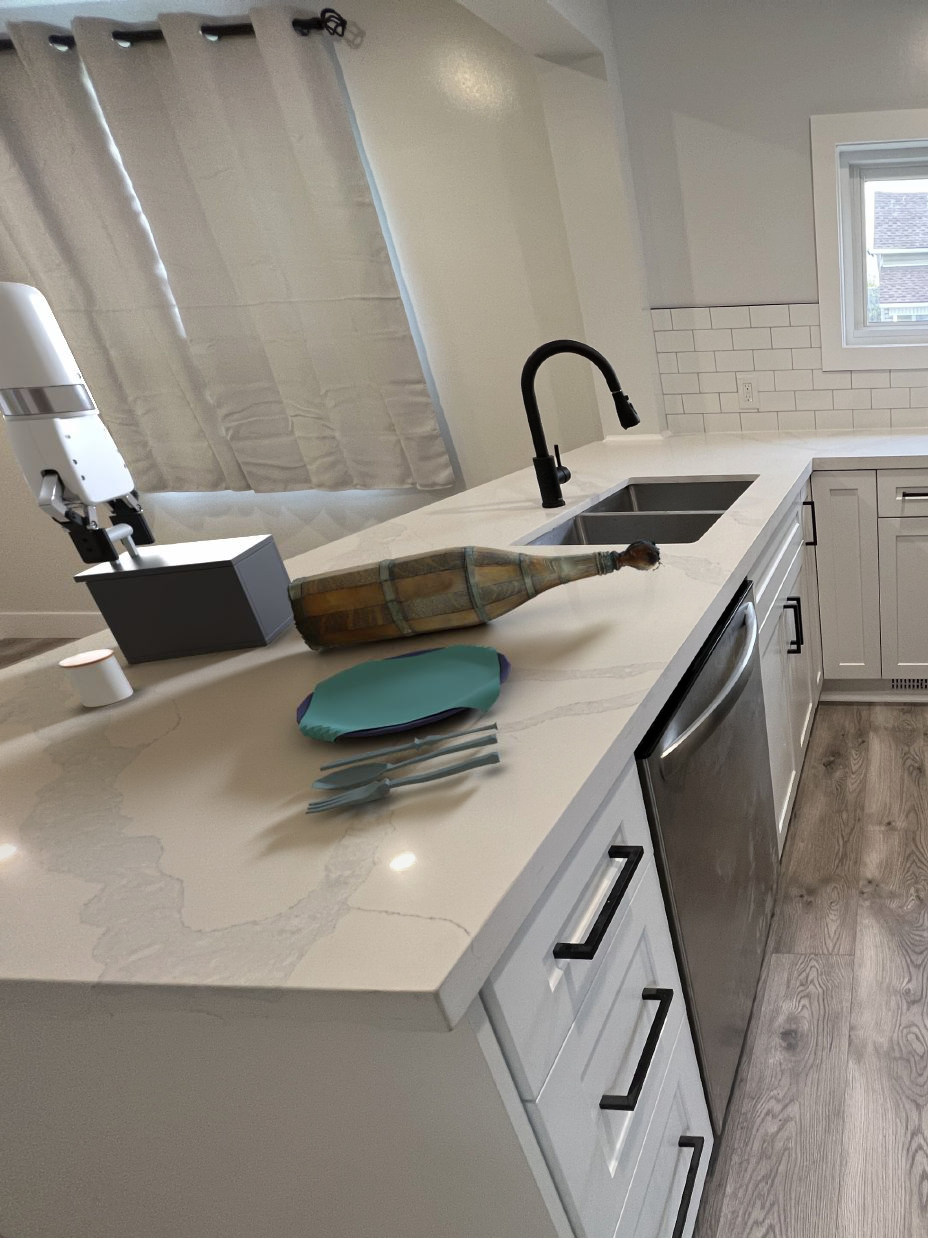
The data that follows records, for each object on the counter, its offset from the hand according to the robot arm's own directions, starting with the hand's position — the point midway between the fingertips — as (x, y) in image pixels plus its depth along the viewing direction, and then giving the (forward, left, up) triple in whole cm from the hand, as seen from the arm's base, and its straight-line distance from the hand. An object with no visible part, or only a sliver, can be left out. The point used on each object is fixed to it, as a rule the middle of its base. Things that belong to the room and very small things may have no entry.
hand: (121, 552), depth 87 cm
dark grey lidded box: (+6, 0, -13) cm, 14 cm away
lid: (+6, 0, -2) cm, 6 cm away
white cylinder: (+2, -17, -13) cm, 21 cm away
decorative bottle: (+42, -9, -13) cm, 45 cm away
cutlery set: (+36, -36, -13) cm, 53 cm away
